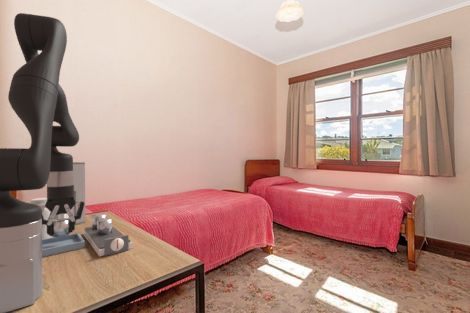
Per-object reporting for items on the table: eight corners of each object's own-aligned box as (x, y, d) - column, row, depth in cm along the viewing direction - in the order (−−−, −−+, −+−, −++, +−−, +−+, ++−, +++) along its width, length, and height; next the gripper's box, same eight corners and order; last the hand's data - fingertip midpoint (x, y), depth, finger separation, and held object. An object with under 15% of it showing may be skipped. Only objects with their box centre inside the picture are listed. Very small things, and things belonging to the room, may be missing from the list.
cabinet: (65, 219, 117) (64, 162, 117) (88, 217, 121) (87, 161, 121) (53, 232, 98) (53, 163, 98) (81, 229, 102) (81, 163, 102)
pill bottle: (22, 239, 89) (21, 199, 89) (47, 233, 96) (46, 196, 96) (32, 243, 86) (32, 201, 85) (57, 236, 93) (57, 197, 93)
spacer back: (107, 227, 96) (107, 215, 96) (93, 230, 93) (93, 217, 93) (104, 224, 100) (104, 212, 100) (90, 227, 96) (90, 214, 96)
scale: (133, 249, 80) (133, 234, 80) (100, 257, 74) (100, 241, 74) (110, 228, 102) (110, 217, 102) (82, 233, 96) (82, 221, 96)
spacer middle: (114, 233, 89) (113, 219, 89) (98, 236, 86) (98, 222, 86) (110, 230, 93) (110, 217, 93) (95, 232, 90) (95, 219, 90)
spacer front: (70, 234, 82) (70, 220, 82) (52, 238, 79) (52, 223, 79) (68, 231, 86) (68, 217, 86) (51, 234, 83) (51, 219, 83)
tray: (85, 247, 82) (85, 241, 82) (39, 257, 74) (39, 250, 74) (79, 238, 91) (79, 232, 91) (38, 246, 83) (38, 240, 83)
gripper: (33, 187, 74) (34, 241, 75) (87, 183, 84) (87, 231, 84) (33, 185, 80) (33, 235, 80) (83, 181, 90) (83, 226, 90)
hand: (61, 233), depth 82 cm, fingers closed on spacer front, 5 cm apart
